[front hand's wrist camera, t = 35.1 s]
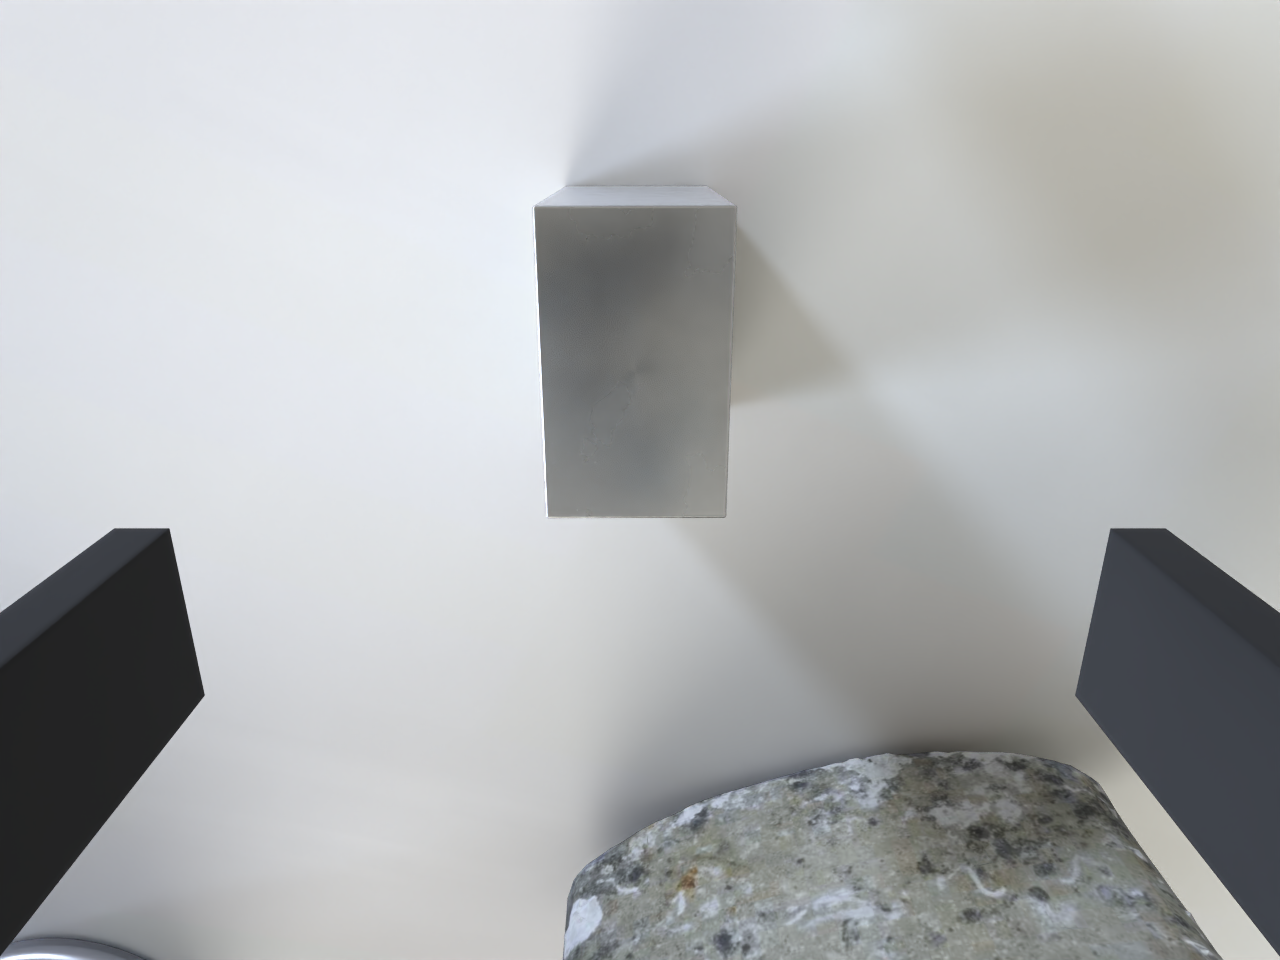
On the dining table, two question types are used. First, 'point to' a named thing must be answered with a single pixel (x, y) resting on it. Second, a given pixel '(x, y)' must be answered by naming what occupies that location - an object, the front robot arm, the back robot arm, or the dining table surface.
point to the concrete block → (887, 871)
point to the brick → (635, 349)
